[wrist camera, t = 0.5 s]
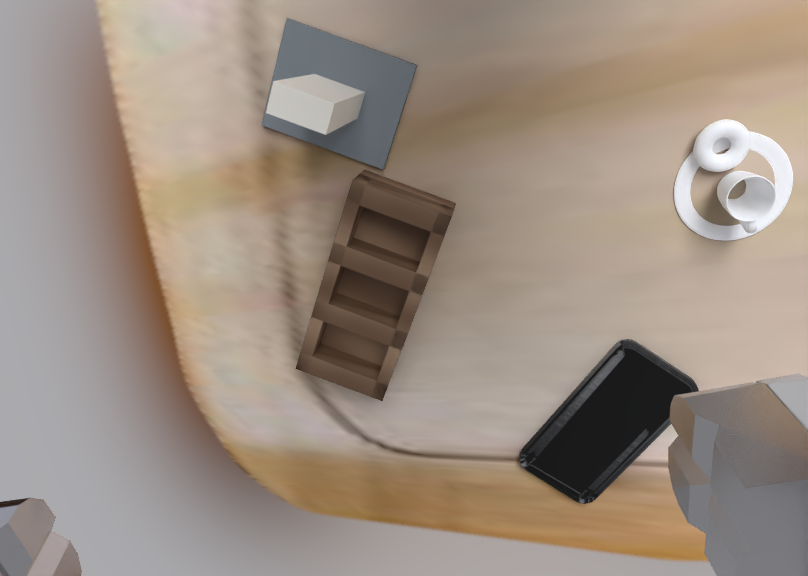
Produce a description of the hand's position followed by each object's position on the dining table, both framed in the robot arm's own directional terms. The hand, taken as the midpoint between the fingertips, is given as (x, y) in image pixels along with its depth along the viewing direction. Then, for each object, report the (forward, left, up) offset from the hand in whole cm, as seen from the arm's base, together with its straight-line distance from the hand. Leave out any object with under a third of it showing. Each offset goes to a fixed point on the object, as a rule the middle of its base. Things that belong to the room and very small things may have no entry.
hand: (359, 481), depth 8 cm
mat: (0, -11, -42) cm, 44 cm away
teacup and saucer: (-1, +20, -43) cm, 47 cm away
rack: (+14, -6, -42) cm, 45 cm away
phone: (+23, +15, -43) cm, 51 cm away
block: (0, -11, -42) cm, 43 cm away
